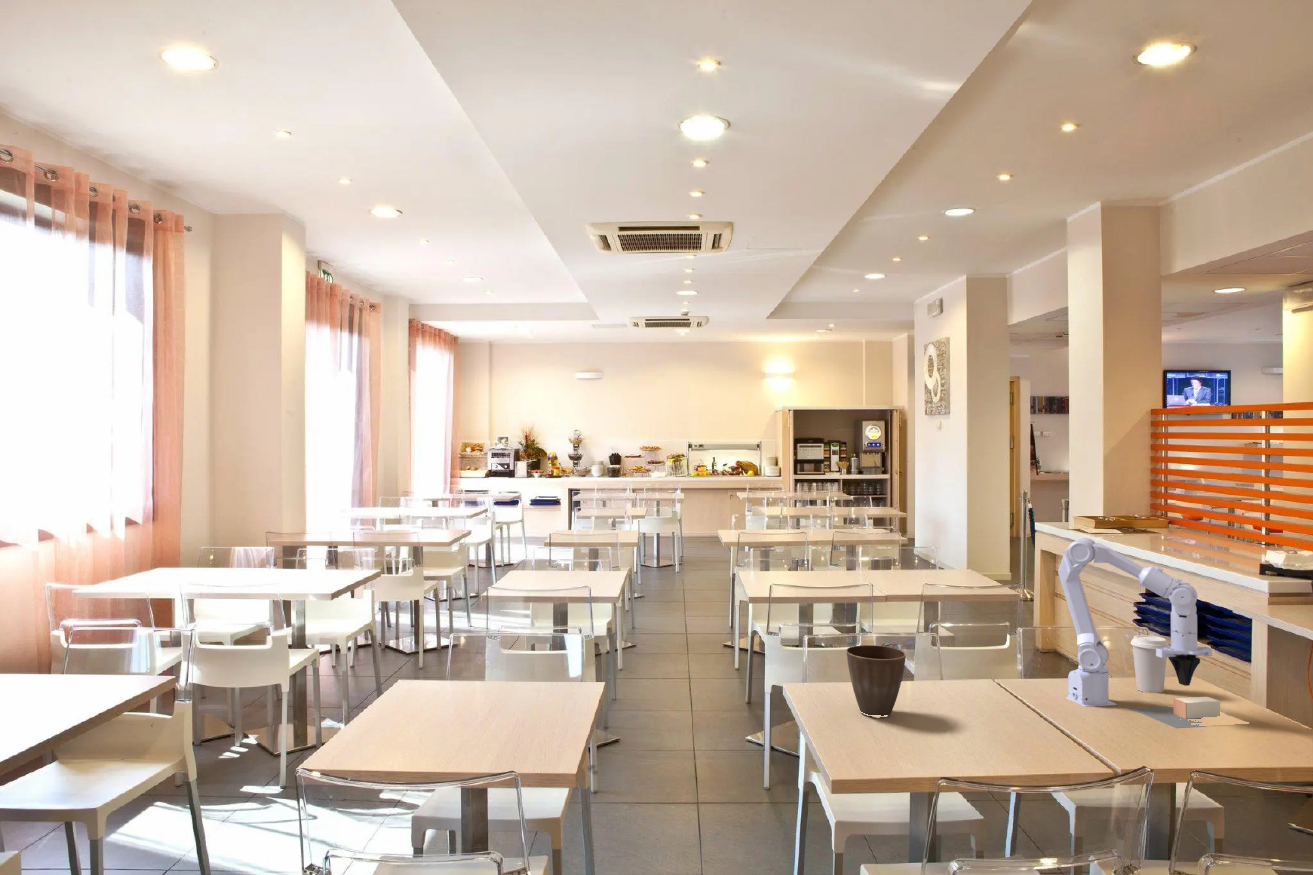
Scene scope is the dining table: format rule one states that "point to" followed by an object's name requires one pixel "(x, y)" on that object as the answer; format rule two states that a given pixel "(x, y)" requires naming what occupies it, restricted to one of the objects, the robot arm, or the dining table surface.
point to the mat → (1167, 716)
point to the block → (1196, 707)
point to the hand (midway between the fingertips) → (1184, 684)
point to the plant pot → (876, 677)
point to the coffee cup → (1149, 663)
